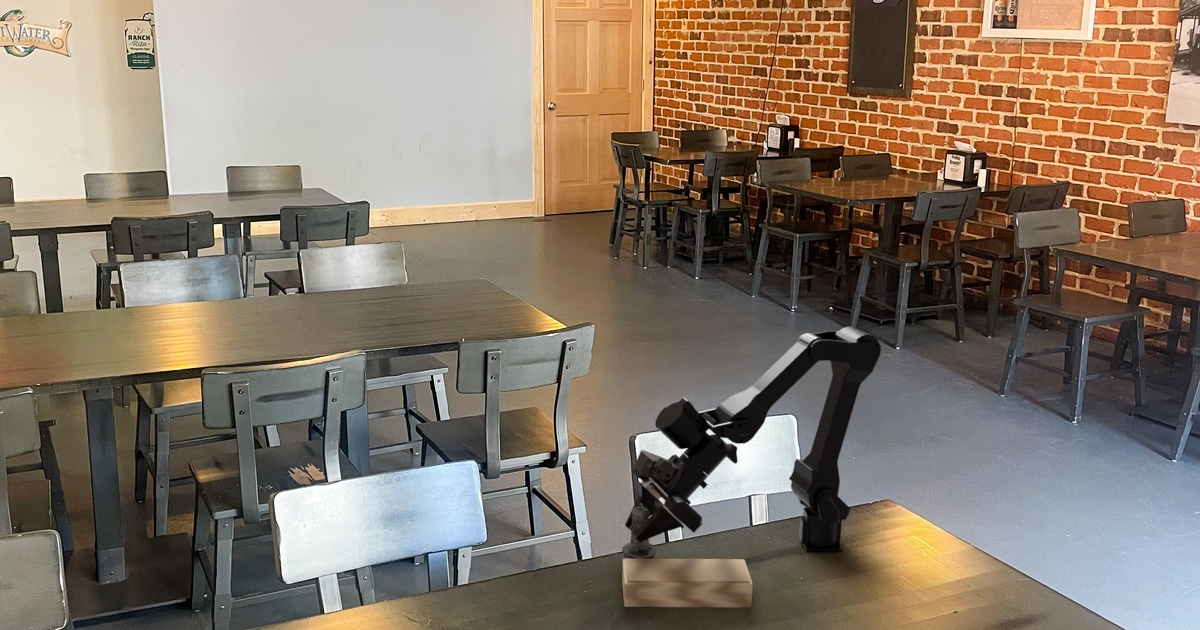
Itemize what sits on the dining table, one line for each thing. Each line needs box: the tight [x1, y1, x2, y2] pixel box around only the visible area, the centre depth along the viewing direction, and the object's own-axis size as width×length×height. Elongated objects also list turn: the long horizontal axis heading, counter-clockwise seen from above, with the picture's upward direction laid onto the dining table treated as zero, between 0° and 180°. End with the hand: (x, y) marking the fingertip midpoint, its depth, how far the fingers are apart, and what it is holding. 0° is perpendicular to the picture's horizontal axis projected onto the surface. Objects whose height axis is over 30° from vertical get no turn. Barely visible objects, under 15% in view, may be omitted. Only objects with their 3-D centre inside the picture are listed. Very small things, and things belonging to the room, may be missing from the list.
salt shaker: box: [621, 503, 658, 559], centre depth 180 cm, size 6×6×12 cm
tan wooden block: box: [621, 557, 753, 608], centre depth 172 cm, size 20×8×4 cm, turn 91°
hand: (632, 533), depth 179 cm, fingers open, 5 cm apart
